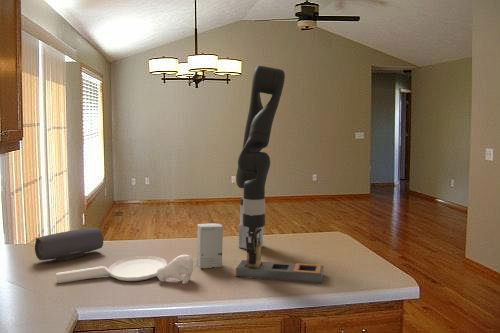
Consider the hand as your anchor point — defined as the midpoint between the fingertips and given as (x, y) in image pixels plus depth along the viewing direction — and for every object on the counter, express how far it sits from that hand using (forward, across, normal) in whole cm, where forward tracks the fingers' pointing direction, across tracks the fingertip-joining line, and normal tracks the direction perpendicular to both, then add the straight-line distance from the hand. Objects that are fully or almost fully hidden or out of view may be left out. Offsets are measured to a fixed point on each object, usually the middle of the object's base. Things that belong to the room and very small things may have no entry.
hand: (253, 261), depth 158 cm
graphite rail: (+4, 0, +9) cm, 10 cm away
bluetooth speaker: (+4, -3, -71) cm, 71 cm away
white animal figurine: (+4, +13, -23) cm, 27 cm away
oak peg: (+4, 0, 0) cm, 4 cm away
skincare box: (+4, -5, -17) cm, 18 cm away
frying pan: (+5, +13, -44) cm, 47 cm away
